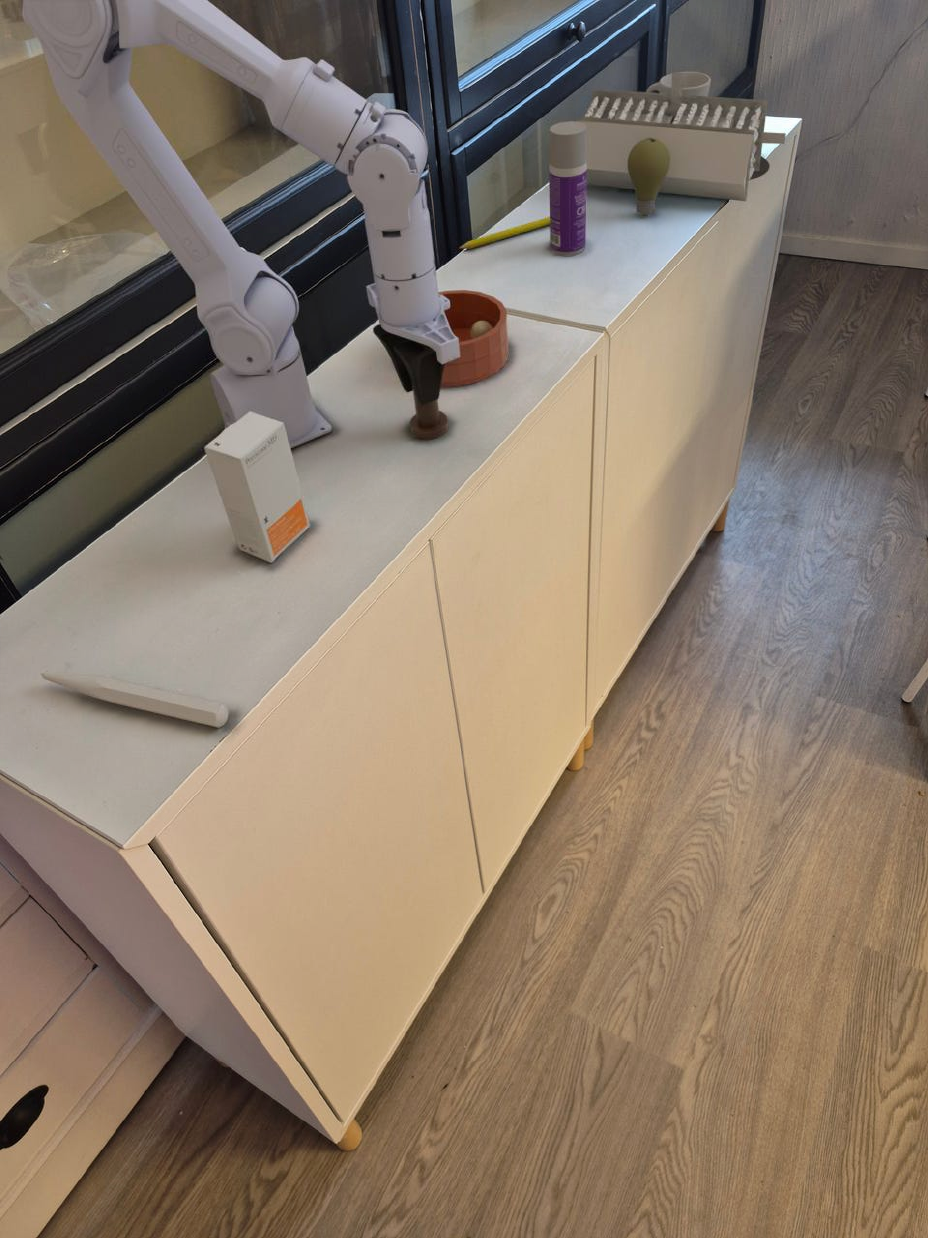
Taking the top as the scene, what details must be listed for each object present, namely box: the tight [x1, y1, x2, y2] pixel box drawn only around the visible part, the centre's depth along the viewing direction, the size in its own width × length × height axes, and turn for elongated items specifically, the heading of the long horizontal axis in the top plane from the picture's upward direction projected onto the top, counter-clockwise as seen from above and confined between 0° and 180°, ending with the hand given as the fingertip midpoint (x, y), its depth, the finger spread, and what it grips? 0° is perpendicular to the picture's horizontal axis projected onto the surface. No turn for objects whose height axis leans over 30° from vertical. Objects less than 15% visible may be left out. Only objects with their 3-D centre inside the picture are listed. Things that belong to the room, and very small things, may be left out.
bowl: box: [438, 289, 510, 388], centre depth 103 cm, size 12×12×5 cm
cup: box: [645, 71, 712, 97], centre depth 139 cm, size 8×10×8 cm
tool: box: [40, 670, 230, 729], centre depth 72 cm, size 17×2×2 cm
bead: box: [470, 321, 493, 340], centre depth 104 cm, size 3×3×3 cm
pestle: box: [409, 386, 449, 441], centre depth 92 cm, size 4×4×8 cm
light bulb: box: [628, 138, 670, 218], centre depth 122 cm, size 6×6×10 cm
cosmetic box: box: [203, 411, 311, 564], centre depth 81 cm, size 6×4×12 cm
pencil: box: [459, 216, 550, 250], centre depth 124 cm, size 16×1×1 cm
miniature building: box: [576, 72, 787, 202], centre depth 124 cm, size 13×27×10 cm
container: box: [548, 120, 587, 257], centre depth 115 cm, size 5×5×15 cm
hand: (421, 394), depth 92 cm, fingers closed on pestle, 2 cm apart
